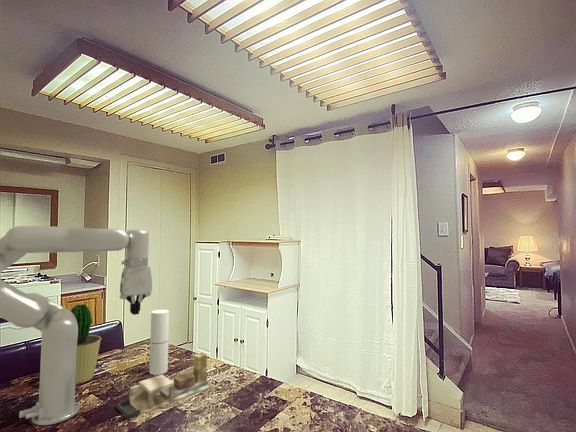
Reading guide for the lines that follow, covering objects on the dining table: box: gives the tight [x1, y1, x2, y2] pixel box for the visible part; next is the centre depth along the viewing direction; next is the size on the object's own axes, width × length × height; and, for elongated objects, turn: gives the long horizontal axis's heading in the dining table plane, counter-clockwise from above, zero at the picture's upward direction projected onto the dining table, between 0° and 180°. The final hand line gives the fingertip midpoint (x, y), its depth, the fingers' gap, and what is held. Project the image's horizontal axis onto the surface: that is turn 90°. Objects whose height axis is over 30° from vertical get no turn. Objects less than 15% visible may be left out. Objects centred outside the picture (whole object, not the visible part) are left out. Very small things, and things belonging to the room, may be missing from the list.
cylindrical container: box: [149, 309, 170, 376], centre depth 141 cm, size 7×7×25 cm
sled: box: [160, 352, 209, 399], centre depth 123 cm, size 16×6×11 cm, turn 136°
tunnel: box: [116, 374, 211, 420], centre depth 118 cm, size 30×10×6 cm, turn 136°
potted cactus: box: [68, 303, 102, 385], centre depth 134 cm, size 15×15×30 cm
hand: (135, 313), depth 121 cm, fingers closed
